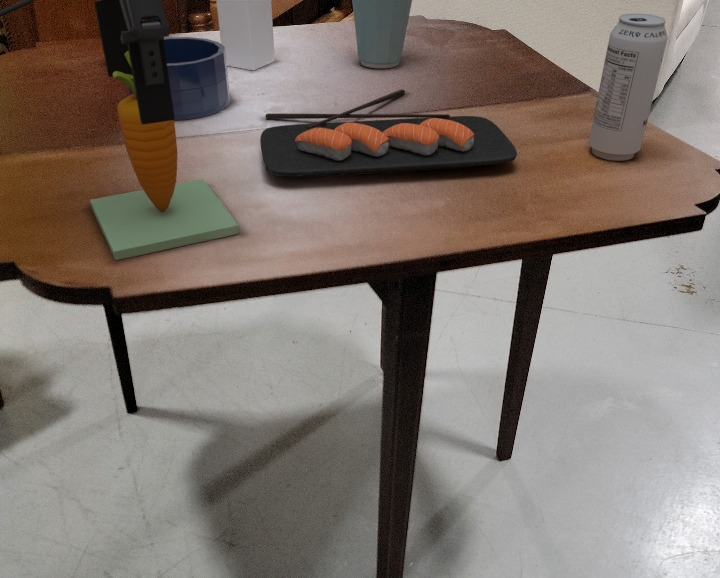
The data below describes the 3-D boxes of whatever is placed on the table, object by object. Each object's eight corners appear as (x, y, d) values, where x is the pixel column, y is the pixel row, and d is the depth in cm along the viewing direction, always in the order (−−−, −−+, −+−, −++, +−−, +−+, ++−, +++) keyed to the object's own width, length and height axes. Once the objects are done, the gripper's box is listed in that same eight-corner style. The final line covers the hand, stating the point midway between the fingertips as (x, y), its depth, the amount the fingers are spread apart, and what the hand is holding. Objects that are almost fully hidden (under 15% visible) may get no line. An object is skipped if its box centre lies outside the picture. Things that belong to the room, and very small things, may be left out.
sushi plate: (266, 191, 79) (263, 157, 77) (254, 100, 102) (251, 72, 100) (523, 174, 83) (528, 142, 80) (455, 90, 106) (457, 63, 104)
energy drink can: (648, 160, 86) (683, 24, 77) (600, 164, 85) (630, 26, 76) (623, 141, 91) (653, 11, 82) (578, 145, 90) (603, 13, 81)
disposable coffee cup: (333, 64, 116) (331, -42, 107) (376, 50, 123) (378, -51, 114) (385, 77, 111) (388, -33, 102) (427, 62, 118) (433, -43, 108)
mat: (91, 208, 76) (89, 199, 75) (204, 186, 80) (203, 178, 79) (115, 260, 67) (113, 251, 67) (240, 233, 71) (239, 224, 71)
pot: (120, 95, 104) (110, 43, 100) (213, 82, 109) (207, 32, 104) (142, 126, 94) (132, 70, 90) (243, 111, 99) (238, 57, 95)
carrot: (185, 222, 71) (160, 61, 62) (133, 223, 71) (100, 63, 62) (190, 199, 75) (167, 45, 66) (141, 201, 75) (111, 47, 66)
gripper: (187, -194, 46) (221, 137, 59) (107, -203, 63) (147, 54, 76) (62, -195, 43) (127, 152, 56) (14, -204, 60) (73, 62, 74)
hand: (139, 96), depth 66 cm, fingers open, 13 cm apart
